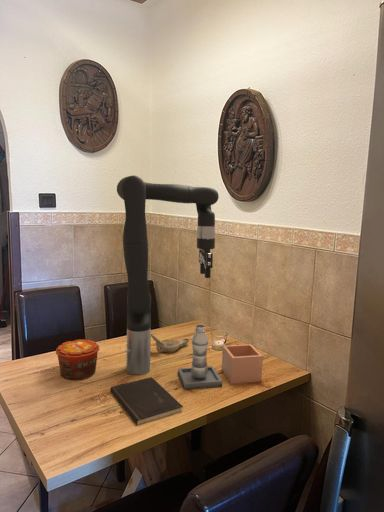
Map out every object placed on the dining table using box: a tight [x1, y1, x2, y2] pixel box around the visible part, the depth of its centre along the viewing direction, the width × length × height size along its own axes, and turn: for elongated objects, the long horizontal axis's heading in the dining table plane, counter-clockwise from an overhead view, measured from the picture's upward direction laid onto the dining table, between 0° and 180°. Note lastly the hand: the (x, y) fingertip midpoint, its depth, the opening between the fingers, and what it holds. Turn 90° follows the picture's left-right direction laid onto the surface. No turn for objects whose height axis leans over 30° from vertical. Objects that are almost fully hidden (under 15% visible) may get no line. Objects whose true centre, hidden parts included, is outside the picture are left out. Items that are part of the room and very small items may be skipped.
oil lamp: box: [151, 333, 190, 353], centre depth 169 cm, size 9×21×10 cm, turn 130°
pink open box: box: [221, 343, 264, 385], centre depth 146 cm, size 12×12×10 cm
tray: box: [177, 365, 223, 390], centre depth 142 cm, size 14×13×2 cm
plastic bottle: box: [190, 324, 209, 379], centre depth 141 cm, size 6×7×20 cm
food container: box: [55, 339, 100, 381], centre depth 144 cm, size 16×16×11 cm
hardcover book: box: [109, 376, 184, 426], centre depth 125 cm, size 16×23×2 cm
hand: (205, 275), depth 156 cm, fingers open, 8 cm apart
